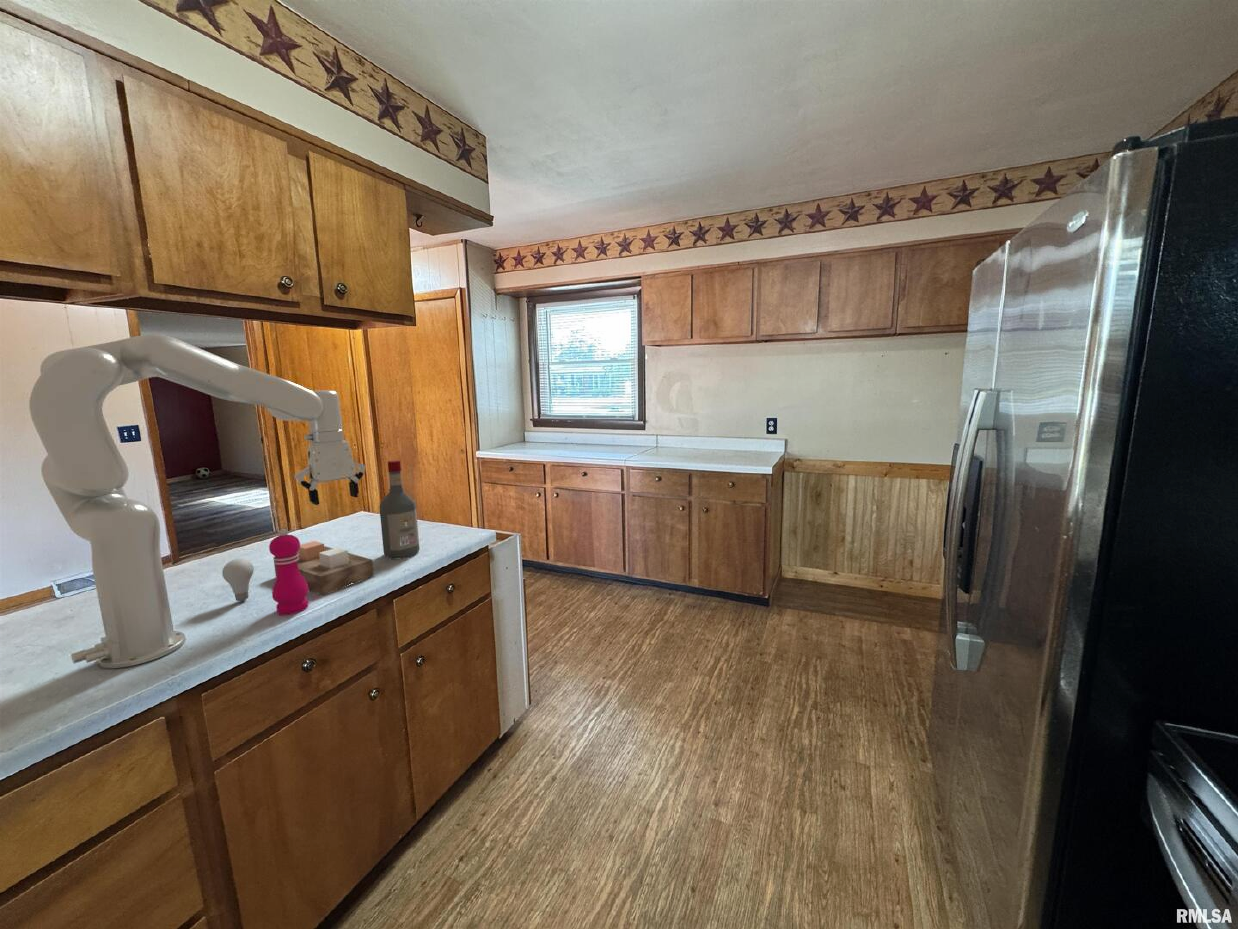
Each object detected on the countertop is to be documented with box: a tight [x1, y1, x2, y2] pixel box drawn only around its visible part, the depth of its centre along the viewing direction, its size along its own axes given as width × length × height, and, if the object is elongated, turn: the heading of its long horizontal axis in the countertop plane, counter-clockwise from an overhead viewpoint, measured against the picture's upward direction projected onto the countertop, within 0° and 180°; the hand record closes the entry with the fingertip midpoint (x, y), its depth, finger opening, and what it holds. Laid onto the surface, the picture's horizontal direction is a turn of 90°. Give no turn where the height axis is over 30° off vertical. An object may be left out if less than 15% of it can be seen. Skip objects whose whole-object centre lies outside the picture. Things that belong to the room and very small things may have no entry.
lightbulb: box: [221, 558, 254, 603], centre depth 120 cm, size 6×6×11 cm
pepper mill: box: [268, 528, 310, 616], centre depth 114 cm, size 7×7×20 cm
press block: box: [273, 545, 375, 596], centre depth 135 cm, size 14×24×5 cm, turn 59°
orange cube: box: [297, 540, 325, 561], centre depth 138 cm, size 5×5×5 cm
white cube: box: [319, 547, 349, 569], centre depth 132 cm, size 5×5×5 cm
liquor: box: [378, 460, 421, 559], centre depth 152 cm, size 9×9×30 cm
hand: (335, 500), depth 130 cm, fingers open, 9 cm apart
